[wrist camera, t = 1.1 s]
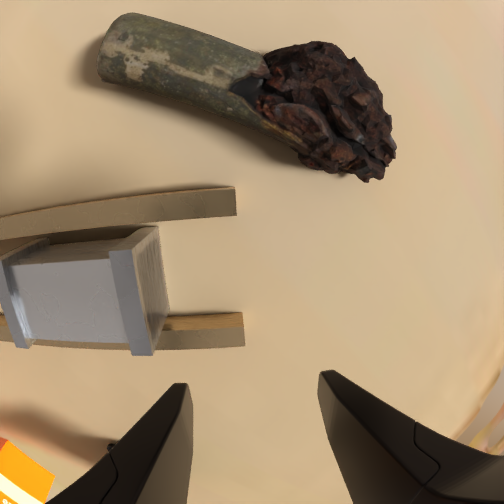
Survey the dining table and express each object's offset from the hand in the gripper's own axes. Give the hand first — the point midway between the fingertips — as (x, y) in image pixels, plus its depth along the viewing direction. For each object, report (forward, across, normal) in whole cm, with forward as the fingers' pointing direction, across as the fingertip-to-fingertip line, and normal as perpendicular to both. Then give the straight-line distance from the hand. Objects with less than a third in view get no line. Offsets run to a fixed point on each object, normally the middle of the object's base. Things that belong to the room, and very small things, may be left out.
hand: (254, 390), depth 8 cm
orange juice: (+12, +35, +30) cm, 48 cm away
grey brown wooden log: (+12, -2, -11) cm, 17 cm away
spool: (+12, +10, 0) cm, 16 cm away
